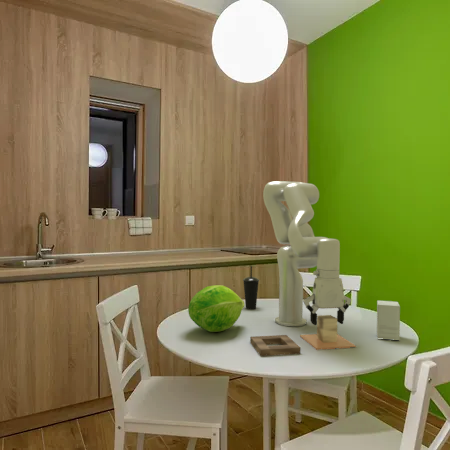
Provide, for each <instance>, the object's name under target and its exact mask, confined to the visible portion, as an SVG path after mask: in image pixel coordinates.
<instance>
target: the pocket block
mask: <svg viewBox="0 0 450 450" xmlns="http://www.w3.org/2000/svg"><path fill="white" fill-rule="evenodd" d="M249 342H250V344H251V345H252V346H253V348H254V349H255V350H256V352H257V353H258V355H259V356H260V357H267V356H268V357H269V356H271V357H272V356H283V355H285V356H286V355H300V354H301V347H300V345H298V343H296V341H295V340H293V339H291V338H290V337H289V335H287V334H281V335H280V334H279V335H278V334H277V335H261V336H260V335H259V336H256V335H255V336H250V339H249Z"/></svg>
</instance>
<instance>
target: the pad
mask: <svg viewBox="0 0 450 450" xmlns="http://www.w3.org/2000/svg"><path fill="white" fill-rule="evenodd" d="M299 337H300V338H301V339H303V340H304V341H305V342H306V343H308V344H309V345H310V347H312V348H313V349H315V350H316V351H318V350H321V349H322V350H335V348H339V349H350V347H356V348H357V345H355V344H354V343H353V342H351V341H349V340H347V339H346V338H345V337H343V336H342V335H340V334H338V333H337V342H329V343H323V342H322V341H320V340H319V339H317V333H314V334H313V333H312V334H300V335H299Z"/></svg>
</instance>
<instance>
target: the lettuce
mask: <svg viewBox="0 0 450 450" xmlns="http://www.w3.org/2000/svg"><path fill="white" fill-rule="evenodd" d="M245 307H246V305H245V300H243V299H242V298H241V297H240V296H239V295H238V294H237V293H236V292H235V291H234V290H233V289H231V288H229V287H227V286H225V285H222V284H221V285H220V284H217V285H215V284H214V285H209V286H206V287H204V288H202V289H201V290H199V291H197V292H196V293H195V295H194V296H192V298H191V300H190V302H189V304H188V310H187V313H188V315H189V318H190V319H191V321H192V322H193V323H194V324H195V325H197V326H198V327H199V328H202V329H203V330H205V331H208V332H210V333H217V332H223V331H226V330H228V329H230V328H232V327H233V326H234V325H235V323H236V322H237V321H238V319H239V318H240V316H241V314H242V310H243V309H244V308H245Z"/></svg>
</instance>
